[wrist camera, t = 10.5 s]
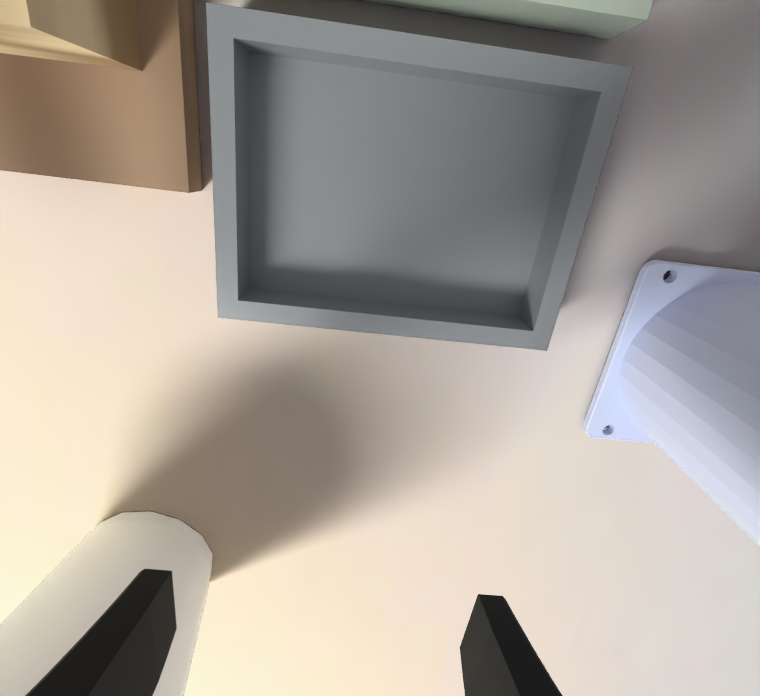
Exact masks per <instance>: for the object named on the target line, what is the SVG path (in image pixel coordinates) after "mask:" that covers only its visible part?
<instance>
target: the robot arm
mask: <svg viewBox="0 0 760 696" xmlns="http://www.w3.org/2000/svg"><path fill="white" fill-rule="evenodd" d="M668 270H670V275H669V277H668V278H667V279H665V280H663V276H664V274H665V273H666V272H667V271H668ZM608 425H610V426H609V427H608V428H607V429H605V430H603V429H604V427H606V426H608ZM583 429H584V431H585V433H586V434H587V435H588V436H589V437H592V438H601V439H612V440H624V441H635V442H647V443H655V444H656V445H657V446H658V447H659V448H660V449H661V450H662V451H663V452H664V453H665V454H666V455H667V456H668V457H669V458H670V459H671V460H672V461H673V462H674V463H675V464H676V465H677V466H678V467H679V468H680V469H681V470H683V471H684V472H685V473H686V474H687V475H688V476H689V477H690V478H691V479H692V480H693V481H694V482H695V483H696V484H697V485H698V486H699V487H700V488H701V489H702V490H703V491H704V492H705V493H706V494H707V495H708V496H709V497H710V498H711V499H712V500H713V501H714V502H715V503H716V504H717V505H718V506H719V507H720V508H721V509H722V510H723V511H724V512H725V513H726V514H727V515H728V516H729V517H730V518H731V519H732V520H733V521H734V522H735V523H736V524H737V525H738V526H739V527H740V528H741V529H742V530H743V531H744V532H745V533H746V534H747V535H748V536H750V537H751V538H752V539H753V540H754V541H755V542H756V543H757V544H758V545H759V546H760V272H754V271H746V270H737V269H729V268H721V267H712V266H704V265H695V264H687V263H678V262H670V261H662V260H651V261H649V262H647V263H646V264H645V265H644V266H642V268H641V270H640V272H639V274H638V277H637V280H636V283H635V285H634V288H633V291H632V293H631V296H630V299H629V301H628V304H627V307H626V310H625V312H624V315H623V318H622V320H621V323H620V326H619V329H618V331H617V334H616V337H615V339H614V342H613V345H612V347H611V350H610V353H609V356H608V358H607V361H606V364H605V366H604V369H603V372H602V375H601V377H600V380H599V383H598V385H597V388H596V391H595V393H594V396H593V399H592V402H591V404H590V407H589V410H588V412H587V415H586V418H585V420H584V423H583ZM176 629H177V625H176V614H175V602H174V590H173V578H172V571H169V570H156V569H143V570H142V571H140V572H139V573H138V575H137V576H136V577H135V578H134V579H133V580H132V582H131V583H130V584H129V585H128V586H127V587H126V588H125V590H124V591H123V592H122V593H121V594H120V595H119V596H118V598H117V599H116V600H115V601H114V602H113V603H112V604H111V606H110V607H109V608H108V609H107V610H106V611H105V612H104V613H103V614H102V616H101V617H100V618H99V619H98V620H97V621H96V622H95V623H94V624H93V625H92V627H91V628H90V629H89V630H88V631H87V632H86V633H85V634H84V635H83V636H82V637H81V638H80V639H79V641H78V642H77V643H76V644H75V645H74V646H73V647H72V648H71V649H70V650H69V651H68V652H67V653H66V654H65V655H64V656H63V657H62V658H61V660H60V661H59V662H58V663H57V664H56V665H55V666H54V667H53V668H52V669H51V670H50V671H49V672H48V673H47V674H46V675H45V676H44V677H43V678H42V679H41V680H40V681H39V682H38V683H37V684H36V685H35V686H34V687H33V688H32V689H31V690H30V691H29V692H28V693H27V694H26V695H25V696H153V693H154V691H155V689H156V686H157V684H158V682H159V679H160V676H161V673H162V670H163V668H164V665H165V662H166V659H167V656H168V653H169V650H170V647H171V644H172V641H173V638H174V635H175V632H176ZM460 653H461V662H462V672H463V681H464V689H465V696H562V694H561V693H560V691H559V690H558V688H557V686H556V685H555V683H554V682H553V680H552V679H551V677H550V675H549V674H548V672H547V670H546V669H545V667H544V665H543V664H542V662H541V660H540V659H539V657H538V655H537V654H536V652H535V650H534V648H533V647H532V645H531V643H530V642H529V640H528V638H527V636H526V635H525V633H524V631H523V630H522V628H521V626H520V624H519V623H518V621H517V619H516V617H515V615H514V614H513V612H512V610H511V608H510V607H509V605H508V603H507V601H506V600H505V598H504V597H503V596H494V595H481V594H478V596H477V599H476V602H475V605H474V608H473V611H472V614H471V617H470V620H469V623H468V625H467V628H466V631H465V634H464V637H463V640H462V643H461V646H460Z"/></svg>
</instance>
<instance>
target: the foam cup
mask: <svg viewBox="0 0 760 696" xmlns="http://www.w3.org/2000/svg"><path fill="white" fill-rule="evenodd" d="M212 558H213V554H212V552H211V551H210V549H209V547H208V545H207V544H206V542H205V540H204V538H203V537H202V535H200V534H199V533H198V532H196V531H195V530H193V529H192V528H191V527H189V526H188V525H186V524H185V523H184V522H182V521H181V520H179V519H175V518H172V517H168V516H165V515H162V514H158V513H155V512H151V511H149V512H122V513H120V514H118V515H115V516H113V517H111V518H109V519H107V520H104V521H102V522H100V523H99V524H98V526H97V527H96V528H95V530H93V531H91V532H90V533H89V534H88V535H87V536H86V537H85V538H84V539H83V540H82V541H81V542H80V543H79V544H78V545H77V546H76V547H75V548H74V549H73V550H72V551H71V552H70V553H69V554H68V555H67V556H66V557H65V558H64V559H63V561H62V562H61V563H60V564H59V565H58V566H57V567H56V568H55V569H54V570H53V571H52V572H51V573H50V574H49V575H48V576H47V577H46V578H45V579H44V580H43V581H42V582H41V583H40V584H39V585H38V586H37V587H36V588H35V589H34V590H33V591H32V592H31V593H30V594H29V596H28V597H27V598H26V599H25V600H24V601H23V602H22V603H21V604H20V605H19V606H18V607H17V608H16V609H15V610H14V611H13V612H12V613H11V614H10V615H9V616H8V617H7V618H6V619H5V620H4V621H3V622H2V623H1V624H0V696H25V695H26V694H27V693H28V692H29V691H30V690H31V689H32V688H33V687H34V686H35V685H36V684H37V683H38V682H39V681H40V680H41V679H42V678H43V677H44V676H45V675H46V674H47V673H48V672H49V671H50V670H51V669H52V668H53V667H54V666H55V665H56V664H57V663H58V662H59V661H60V660H61V658H62V657H63V656H64V655H65V654H66V653H67V652H68V651H69V650H70V649H71V648H72V647H73V646H74V645H75V644H76V643H77V642H78V641H79V639H80V638H81V637H82V636H83V635H84V634H85V633H86V632H87V631H88V630H89V629H90V628H91V627H92V625H93V624H94V623H95V622H96V621H97V620H98V619H99V618H100V617H101V616H102V614H103V613H104V612H105V611H106V610H107V609H108V608H109V607H110V606H111V604H112V603H113V602H114V601H115V600H116V599H117V598H118V596H119V595H120V594H121V593H122V592H123V591H124V590H125V588H126V587H127V586H128V585H129V584H130V583H131V582H132V580H133V579H134V578H135V577H136V576H137V575H138V573H139V572H140V571H142V570H143V569H156V570H169V571H172V578H173V590H174V602H175V614H176V625H177V629H176V632H175V635H174V638H173V641H172V644H171V647H170V650H169V653H168V656H167V659H166V662H165V665H164V668H163V670H162V673H161V676H160V679H159V682H158V684H157V686H156V689H155V691H154V693H153V696H184V692H185V688H186V684H187V679H188V675H189V671H190V666H191V662H192V657H193V653H194V649H195V644H196V640H197V636H198V631H199V627H200V622H201V618H202V614H203V609H204V605H205V601H206V596H207V592H208V587H209V579H210V576H211V572H212Z"/></svg>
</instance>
